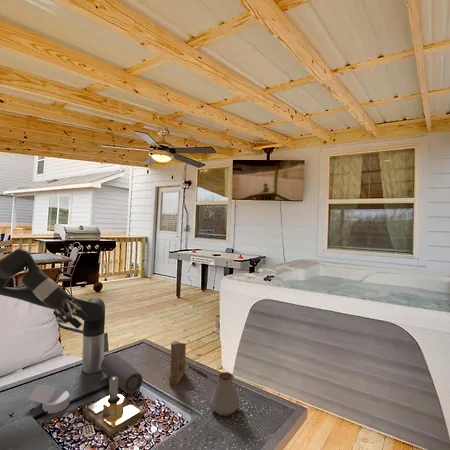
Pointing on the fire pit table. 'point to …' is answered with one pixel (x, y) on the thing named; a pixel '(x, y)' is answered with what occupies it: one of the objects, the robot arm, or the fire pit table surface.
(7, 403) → the fire pit table surface
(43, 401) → the wedge on round base
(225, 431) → the fire pit table surface
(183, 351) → the wooden block
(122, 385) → the bluetooth speaker
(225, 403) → the coffee pot
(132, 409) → the hinge
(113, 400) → the pin
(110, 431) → the board
